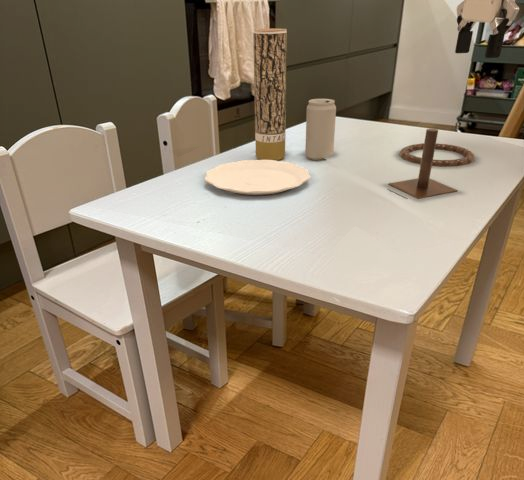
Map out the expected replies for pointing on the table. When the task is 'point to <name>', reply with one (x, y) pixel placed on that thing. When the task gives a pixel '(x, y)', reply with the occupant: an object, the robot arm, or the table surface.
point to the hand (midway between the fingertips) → (476, 55)
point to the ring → (440, 163)
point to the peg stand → (424, 174)
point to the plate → (257, 176)
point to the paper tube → (270, 92)
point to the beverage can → (320, 129)
